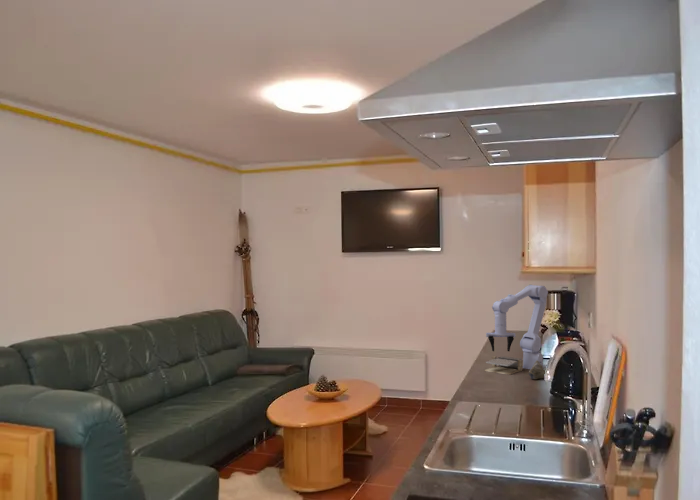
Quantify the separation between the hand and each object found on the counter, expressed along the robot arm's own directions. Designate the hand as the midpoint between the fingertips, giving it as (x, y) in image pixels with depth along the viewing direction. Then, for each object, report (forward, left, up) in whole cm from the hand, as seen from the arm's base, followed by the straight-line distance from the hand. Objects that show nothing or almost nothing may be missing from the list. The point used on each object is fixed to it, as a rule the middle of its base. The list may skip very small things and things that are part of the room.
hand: (500, 351), depth 279 cm
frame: (0, -7, -10) cm, 13 cm away
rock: (-16, +3, -4) cm, 17 cm away
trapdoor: (0, -7, -6) cm, 9 cm away
